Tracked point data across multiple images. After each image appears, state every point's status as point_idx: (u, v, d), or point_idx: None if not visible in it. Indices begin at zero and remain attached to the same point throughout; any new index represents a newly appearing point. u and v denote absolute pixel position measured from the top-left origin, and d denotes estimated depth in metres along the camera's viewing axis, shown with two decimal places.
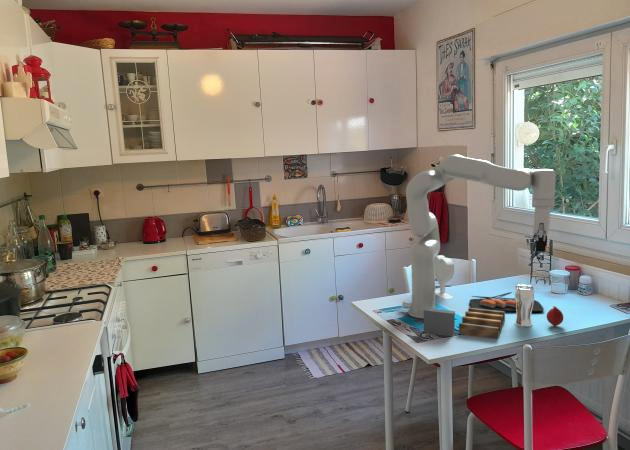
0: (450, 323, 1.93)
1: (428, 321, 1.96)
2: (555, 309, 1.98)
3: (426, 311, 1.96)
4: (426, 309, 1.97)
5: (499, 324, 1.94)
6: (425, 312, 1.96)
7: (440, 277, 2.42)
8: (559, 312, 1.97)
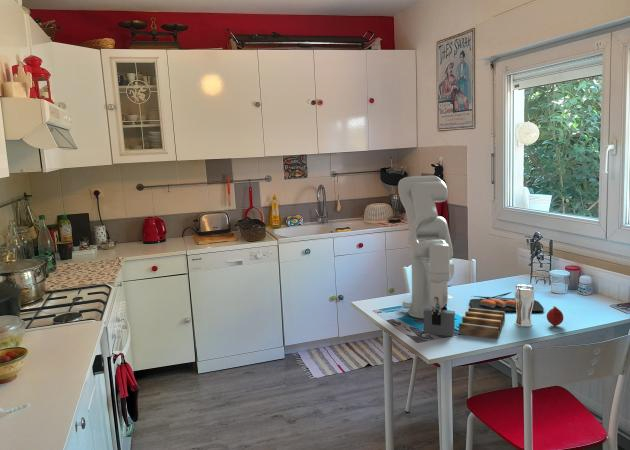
0: (450, 323, 1.93)
1: (428, 321, 1.96)
2: (555, 309, 1.98)
3: (426, 311, 1.96)
4: (426, 309, 1.97)
5: (499, 324, 1.94)
6: (425, 312, 1.96)
7: None
8: (559, 312, 1.97)
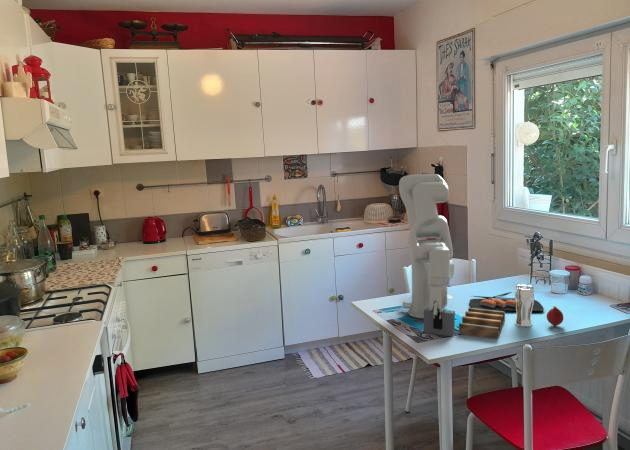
0: (450, 322, 1.92)
1: (428, 320, 1.96)
2: (555, 309, 1.98)
3: (426, 311, 1.96)
4: (426, 309, 1.96)
5: (499, 324, 1.94)
6: (425, 312, 1.96)
7: None
8: (559, 312, 1.97)
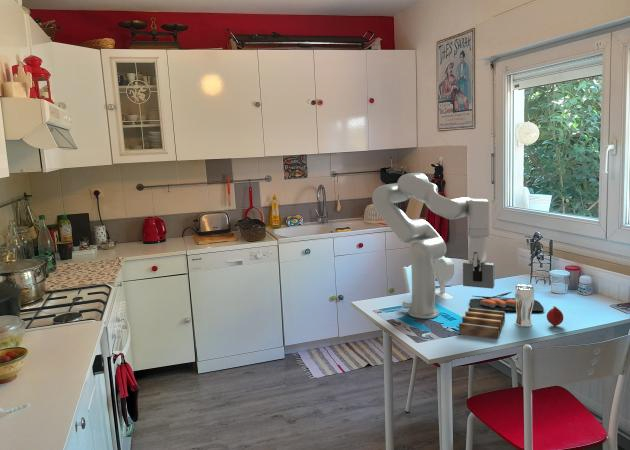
0: (490, 274, 1.93)
1: (468, 273, 1.97)
2: (555, 309, 1.98)
3: (465, 264, 1.97)
4: (465, 262, 1.97)
5: (499, 324, 1.94)
6: (464, 265, 1.97)
7: (440, 277, 2.42)
8: (559, 312, 1.97)
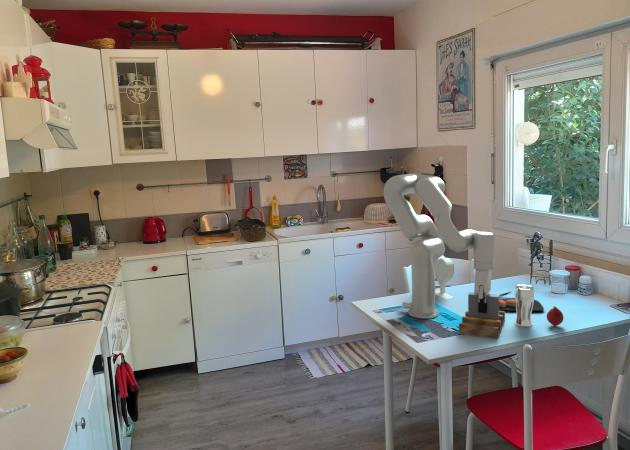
0: (495, 306, 1.96)
1: (473, 305, 2.00)
2: (555, 309, 1.98)
3: (470, 296, 1.99)
4: (470, 294, 2.00)
5: (499, 324, 1.94)
6: (470, 296, 2.00)
7: (440, 277, 2.42)
8: (559, 312, 1.97)
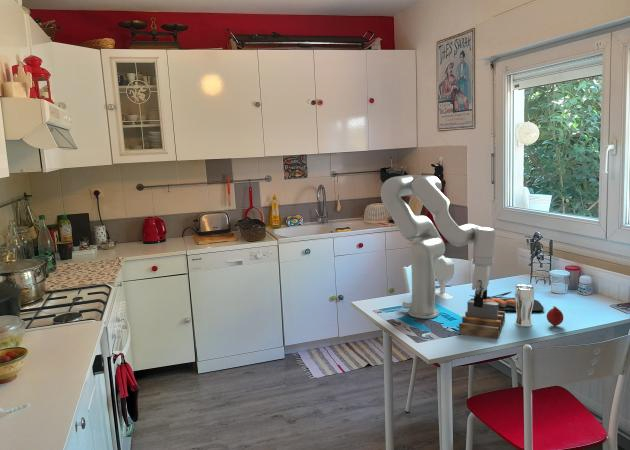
0: (494, 314, 1.97)
1: (472, 312, 2.00)
2: (555, 309, 1.98)
3: (470, 303, 2.00)
4: (469, 301, 2.01)
5: (499, 324, 1.94)
6: (469, 304, 2.00)
7: (440, 277, 2.42)
8: (559, 312, 1.97)
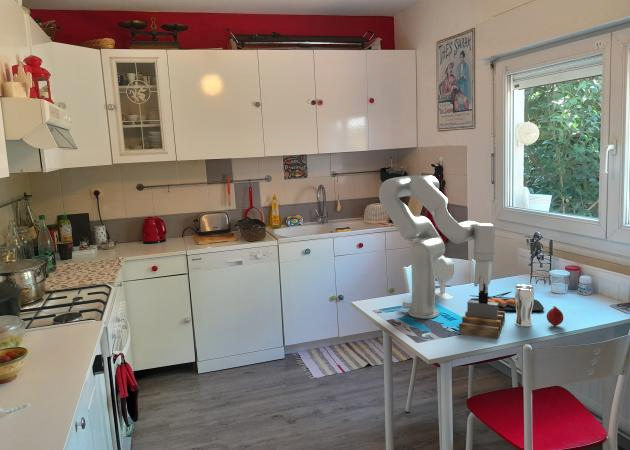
0: (494, 314, 1.97)
1: (472, 312, 2.00)
2: (555, 309, 1.98)
3: (470, 303, 2.00)
4: (469, 301, 2.01)
5: (499, 324, 1.94)
6: (469, 304, 2.00)
7: (440, 277, 2.42)
8: (559, 312, 1.97)
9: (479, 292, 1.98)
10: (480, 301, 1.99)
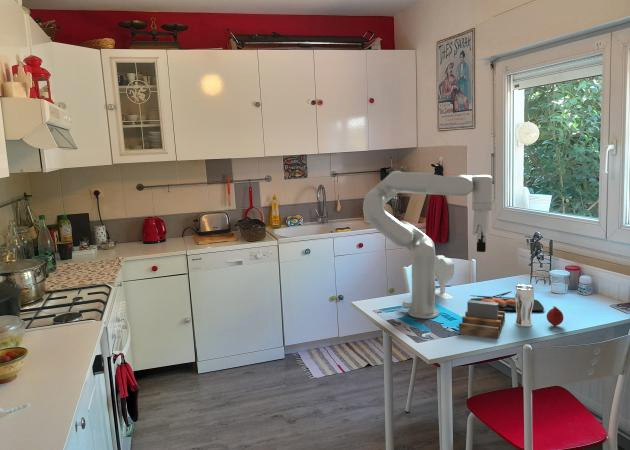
0: (494, 314, 1.97)
1: (472, 312, 2.00)
2: (555, 309, 1.98)
3: (470, 303, 2.00)
4: (469, 301, 2.01)
5: (499, 324, 1.94)
6: (469, 304, 2.00)
7: (440, 277, 2.42)
8: (559, 312, 1.97)
9: (477, 241, 2.08)
10: (478, 250, 2.09)
